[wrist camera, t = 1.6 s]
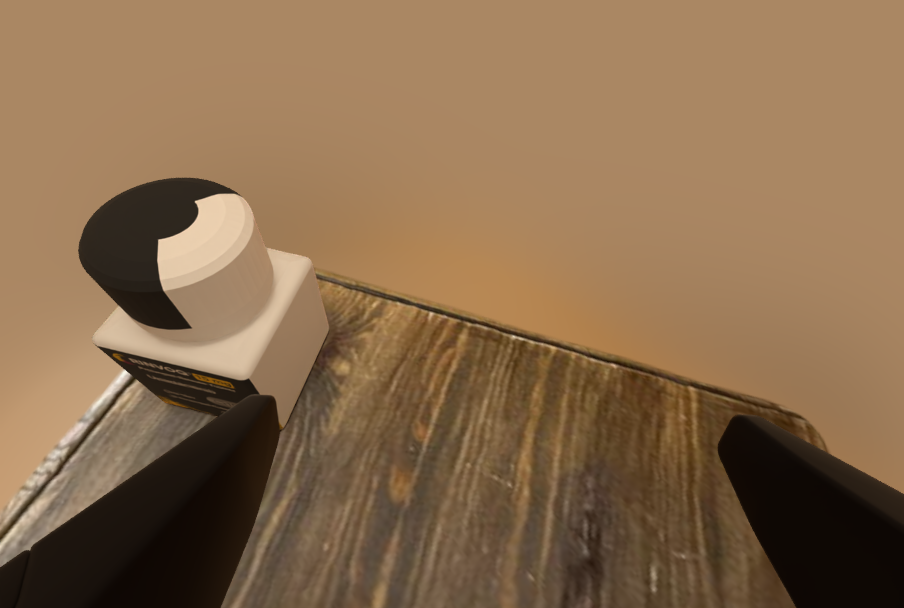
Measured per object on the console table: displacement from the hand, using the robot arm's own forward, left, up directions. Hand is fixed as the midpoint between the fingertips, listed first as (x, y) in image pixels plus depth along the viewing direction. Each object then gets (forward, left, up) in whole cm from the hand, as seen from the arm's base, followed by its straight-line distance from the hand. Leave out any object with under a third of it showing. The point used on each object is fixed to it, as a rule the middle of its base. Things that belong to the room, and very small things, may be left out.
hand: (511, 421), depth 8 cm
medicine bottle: (+2, +14, -16) cm, 22 cm away
